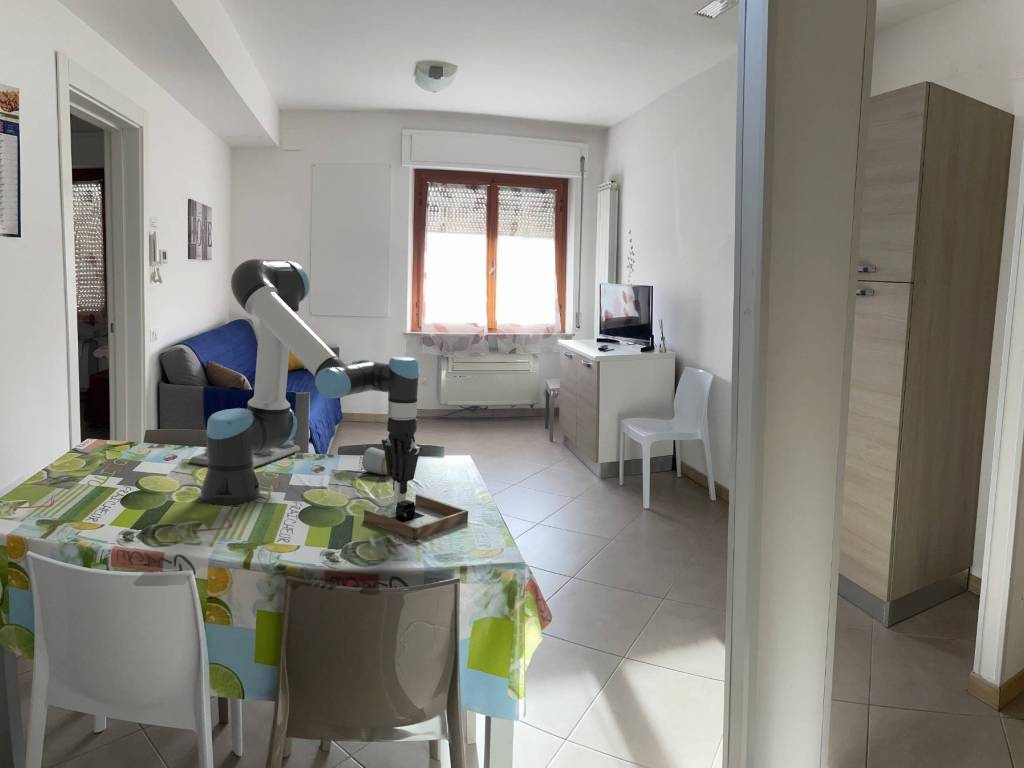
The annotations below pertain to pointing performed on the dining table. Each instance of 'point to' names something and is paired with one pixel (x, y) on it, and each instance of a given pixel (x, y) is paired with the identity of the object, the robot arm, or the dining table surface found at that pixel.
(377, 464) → the ceramic mug
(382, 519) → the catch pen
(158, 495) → the dining table surface
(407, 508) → the black wall mount bracket
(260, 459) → the flat grey tray
